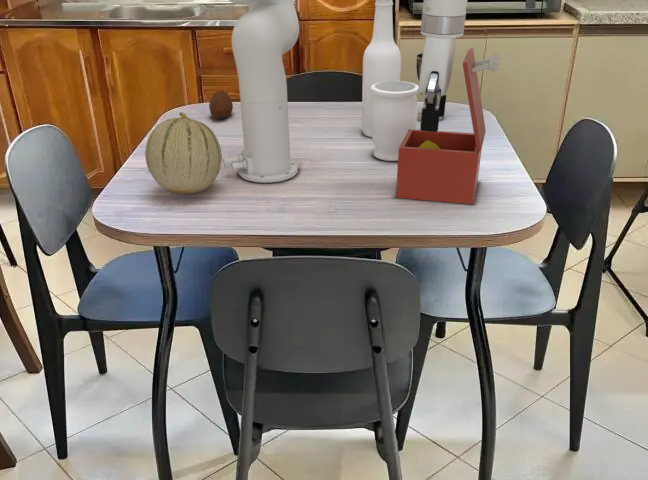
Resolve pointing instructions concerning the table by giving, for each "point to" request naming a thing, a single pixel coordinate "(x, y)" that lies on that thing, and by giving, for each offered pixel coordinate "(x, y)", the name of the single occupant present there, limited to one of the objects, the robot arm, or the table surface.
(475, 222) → the table surface
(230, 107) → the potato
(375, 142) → the jar
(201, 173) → the cantaloupe
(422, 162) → the bin
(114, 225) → the table surface
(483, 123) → the bin lid
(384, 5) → the alcohol
